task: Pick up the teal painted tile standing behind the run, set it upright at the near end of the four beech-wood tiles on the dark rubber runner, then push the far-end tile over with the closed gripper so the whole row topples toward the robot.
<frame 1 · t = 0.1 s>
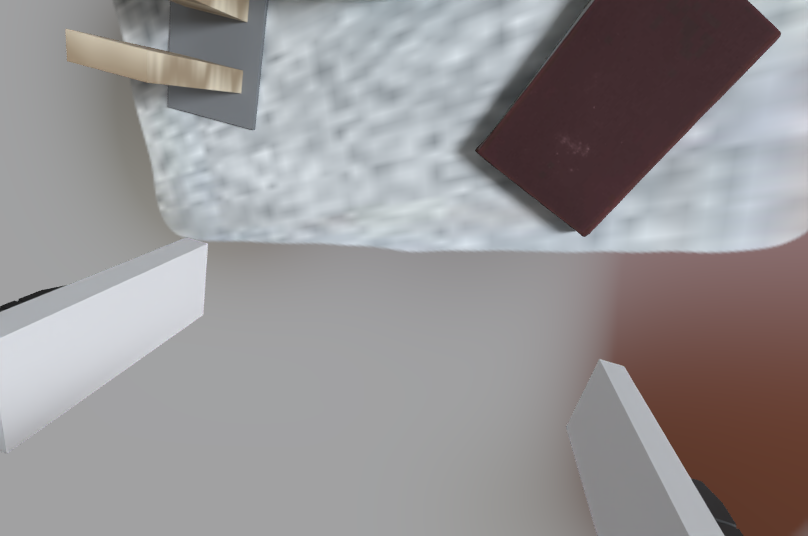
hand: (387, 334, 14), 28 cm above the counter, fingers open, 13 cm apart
tile 2: (217, 1, 37), resting on runner mat
book: (604, 100, 35), on the counter
tile 1: (212, 74, 39), resting on runner mat
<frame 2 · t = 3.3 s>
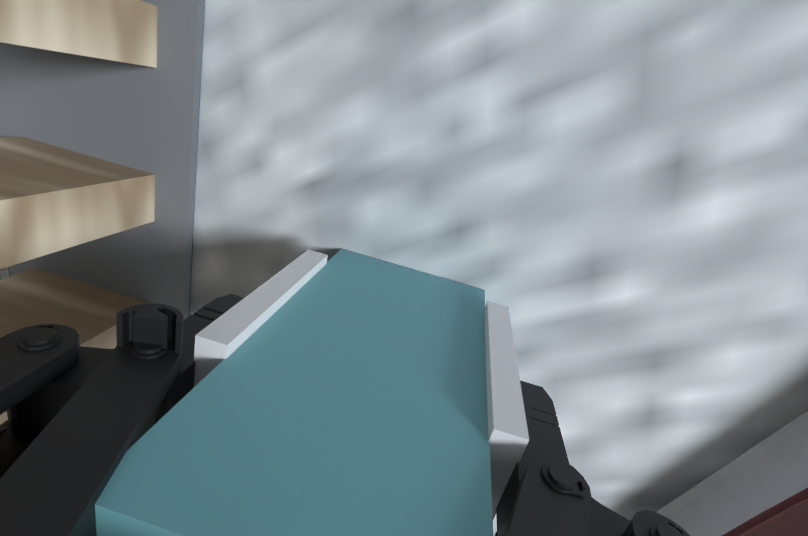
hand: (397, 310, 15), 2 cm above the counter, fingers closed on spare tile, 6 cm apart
tile 3: (89, 179, 17), resting on runner mat
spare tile: (406, 290, 17), on the counter, touching gripper
runner mat: (97, 189, 18), on the counter
tile 4: (82, 18, 15), resting on runner mat
tile 2: (94, 304, 19), resting on runner mat
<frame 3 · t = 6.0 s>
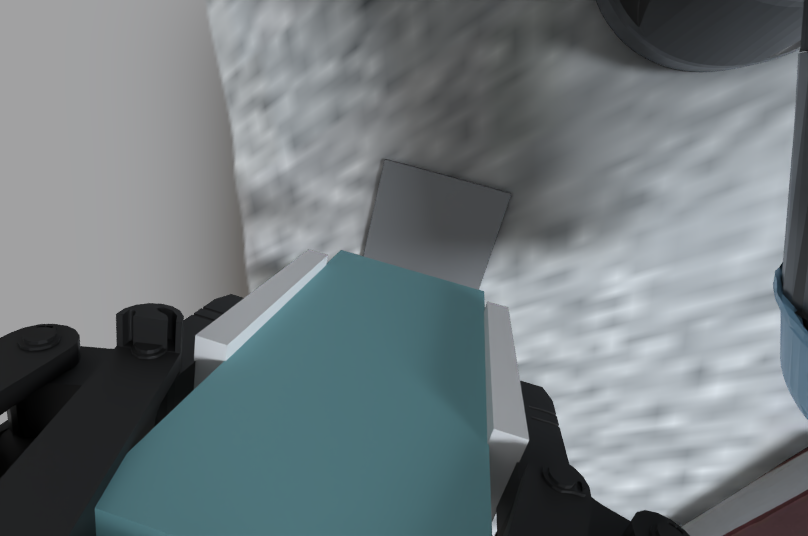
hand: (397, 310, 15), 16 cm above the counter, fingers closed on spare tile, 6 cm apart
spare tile: (405, 292, 17), point 14 cm above the counter, touching gripper
runner mat: (396, 359, 34), on the counter
book: (774, 533, 35), on the counter
when the fingers open (3 cm above the counter, at t = 8.6 s): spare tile stays where it is, resting on runner mat.
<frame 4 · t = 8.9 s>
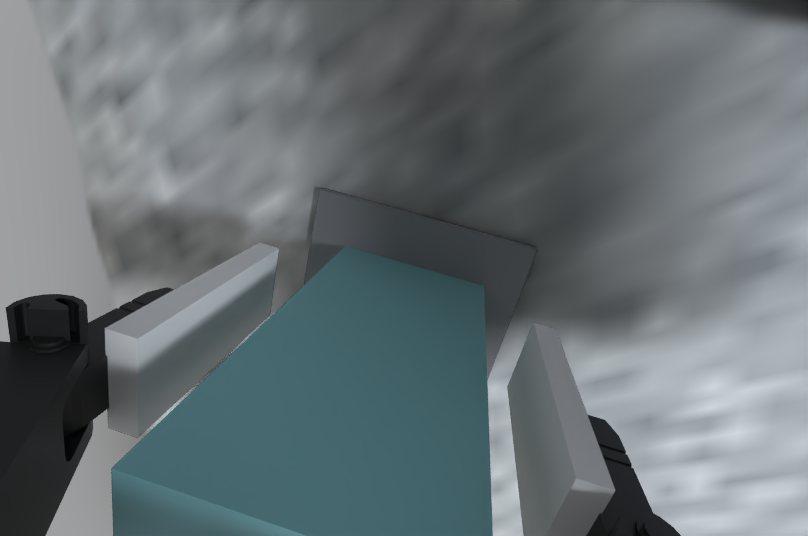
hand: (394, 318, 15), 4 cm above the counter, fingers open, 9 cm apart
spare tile: (408, 286, 18), resting on runner mat
runner mat: (354, 487, 22), on the counter
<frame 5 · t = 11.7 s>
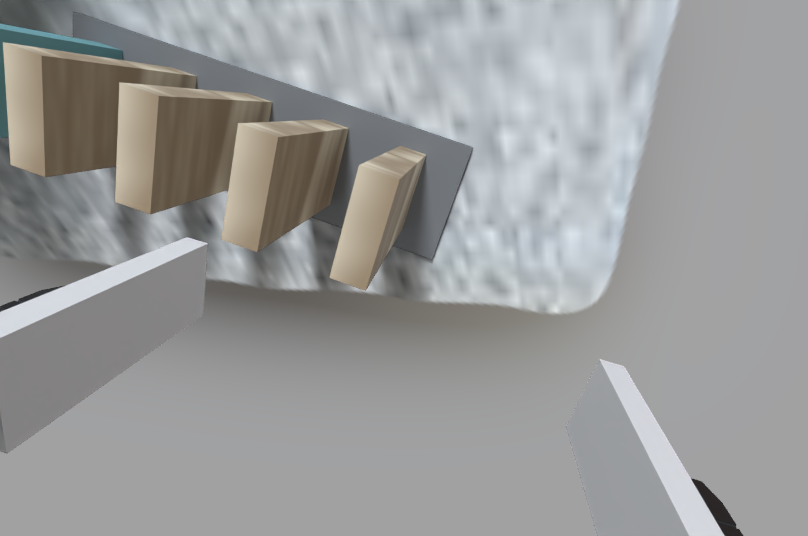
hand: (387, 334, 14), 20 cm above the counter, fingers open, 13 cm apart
tile 3: (253, 138, 32), resting on runner mat
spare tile: (109, 88, 32), resting on runner mat
runner mat: (261, 139, 32), on the counter
tile 4: (180, 113, 32), resting on runner mat
tile 2: (326, 163, 32), resting on runner mat
tile 1: (401, 189, 31), resting on runner mat
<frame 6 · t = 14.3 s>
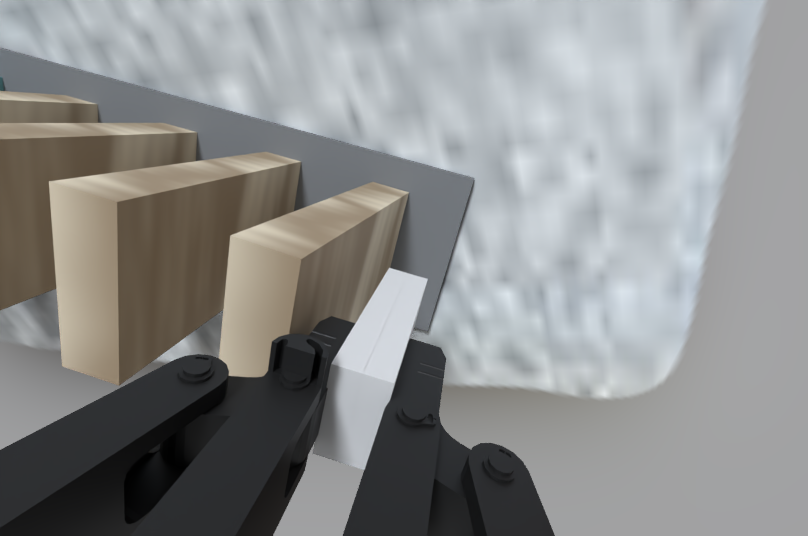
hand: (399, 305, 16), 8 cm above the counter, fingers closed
tile 3: (178, 181, 24), resting on runner mat
runner mat: (190, 182, 24), on the counter
tile 4: (83, 153, 24), resting on runner mat
tile 2: (276, 210, 23), resting on runner mat
tile 1: (378, 240, 23), resting on runner mat
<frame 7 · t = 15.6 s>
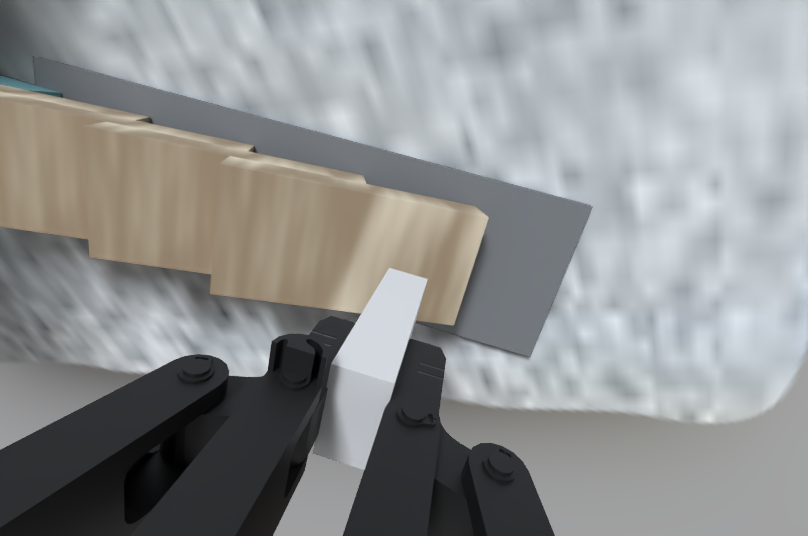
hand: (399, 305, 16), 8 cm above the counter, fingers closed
tile 3: (245, 203, 23), point 1 cm above the counter, tilted 70°, touching runner mat, tile 2, tile 4
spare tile: (47, 147, 23), point 1 cm above the counter, tilted 92°, touching runner mat, tile 4
runner mat: (289, 208, 24), on the counter
tile 4: (142, 174, 23), point 1 cm above the counter, tilted 70°, touching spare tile, tile 3
tile 2: (353, 234, 22), point 1 cm above the counter, tilted 71°, touching runner mat, tile 1, tile 3
tile 1: (464, 266, 22), point 1 cm above the counter, tilted 71°, touching runner mat, tile 2
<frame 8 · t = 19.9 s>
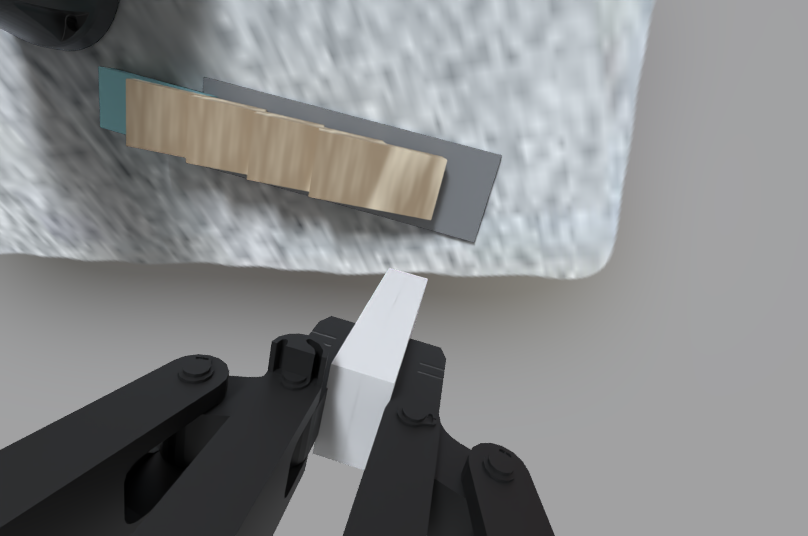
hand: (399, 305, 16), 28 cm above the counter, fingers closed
tile 3: (319, 156, 42), point 1 cm above the counter, tilted 70°, touching runner mat, tile 2, tile 4
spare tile: (209, 126, 43), point 1 cm above the counter, tilted 92°, touching runner mat, tile 4
runner mat: (341, 160, 43), on the counter
tile 4: (262, 141, 42), point 1 cm above the counter, tilted 70°, touching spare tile, tile 3
tile 2: (377, 172, 41), point 1 cm above the counter, tilted 71°, touching runner mat, tile 1, tile 3
tile 1: (436, 188, 41), point 1 cm above the counter, tilted 71°, touching runner mat, tile 2
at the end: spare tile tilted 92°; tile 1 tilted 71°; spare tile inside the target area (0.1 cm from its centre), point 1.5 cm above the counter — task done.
